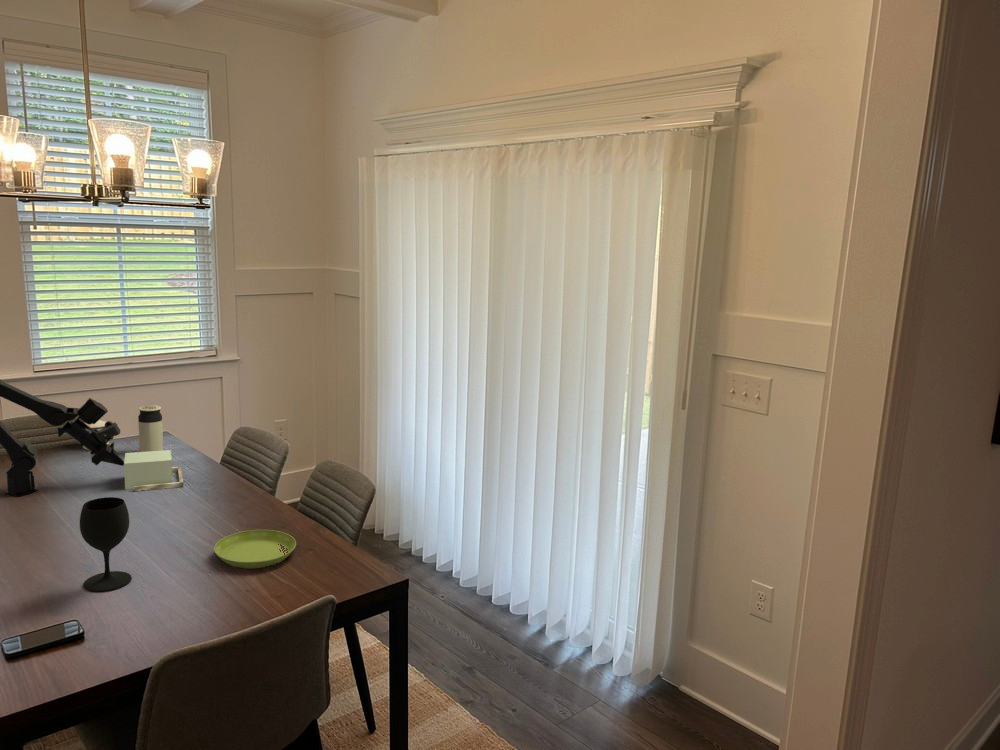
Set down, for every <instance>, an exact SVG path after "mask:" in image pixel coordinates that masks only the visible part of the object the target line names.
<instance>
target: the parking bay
mask: <svg viewBox="0 0 1000 750" xmlns="http://www.w3.org/2000/svg"><path fill="white" fill-rule="evenodd" d="M172 473H178V475H177V476H178V481H177V482H172V483H163V484H152V485H141V486H134V489H133V490H134V492H142V491H141V490H145V491H152V489H153V491H154V489H156V490H162V489H163V490H165V488H166V489H177V488H184V479H183V478H184V477H183V471H182V466H181V465H179V466H172Z"/></svg>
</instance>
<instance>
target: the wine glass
mask: <svg viewBox="0 0 1000 750" xmlns="http://www.w3.org/2000/svg"><path fill="white" fill-rule="evenodd" d="M129 528H130V514H129V510H128V507H127V504H126V502H125V500H124V499H123V498H120V497H116V496H115V497H114V496H113V497H112V496H109V497H105V496H104V497H99V498H94V499H91V500H88V501H86V502H84V503H83V505H82V508H81V510H80V516H79V531H80V534H81V537H82V539H83V540H84V541H85V542H86V544H87V545H89V546H90V547H91V548H94V549H95V550H97V551H100V552H102V554H103V560H104V561H103V562H104V572H100V573H97V574H94V575H92V576H90V577H87V579H85V581H84V583H82V584H83V588H84V589H85V590H86V591H88V592H91V593H107V592H112V591H115V590H119V589H122V588H124V587H126V586H128V585H129V584H131V582H132V578H133V577H132V575H131V574H130V573H128V572H125V571H121V570H120V571H119V570H112V571H111V570H110V553H111V551H112V550H113V549H115V548H116V546H117V547H118V545H119V544H120V543H121V542H122V541H123V540H124V539H125V537H126V536H127V533H128V532H129Z"/></svg>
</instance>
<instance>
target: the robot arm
mask: <svg viewBox="0 0 1000 750" xmlns="http://www.w3.org/2000/svg"><path fill="white" fill-rule="evenodd" d="M0 398H2V399H5V400H7V401H9V402H11V403H14V404H16V405H18V406H19V407H20V406H21V407H22V408H24V409H26V410H29V411H32V412H33V413H34V414H36V415H37V416H38V417H39V418H41V419H42V420H44V421H45V422H46V423H48V424H49V425H51V426H54V427H57V433H58V435H57V436H58V437H59V438H61V437H62V435H64V434H67V435H68V436H69V437H71V438H72V439H73V440H74V441H76V442H77V443H79V444H78V445H79V447H81V448H83V446H84V447H85V448H87V449H88V451H89V454H91V460H90V461H91V463H92V464H94V465H95V466H98V465H99V464H100V463H102V462H104V463H109V464H113V465H118V466H121V467H124V459H123V458H122V457H121V456H120V454H119V453H118V452H117V451H116V449H115V442H111V444H110V443H109V444H107V443H108V442H110V440H114V437H116V436H117V437H118V436H119V435H120V434H121V429H120V428H119V426H118V424H117V422H115V421H114V422H112V421H110V420H108V421H105V422H106V423H105V427H103V428H102V429H101V430H97V429H96V428H95V429H94V428H93V429H92V428H90V427H89V426H88V425H86V424H85V423H87V424H90V425H91V424H95V423H96V422H97V421H98V420H101V418H103V417H104V416H105V415H106V414H107V413H108V412H109V411H108V409H107V408H106V406H105V405H103V404H102V403H101V402H99V401H96V400H95V399H93V398H92V397H89V398H88V399H87V400H86V402H85V403H83V404H82V405H81V406H80V408H79V407H67V406H66V405H64V404H61V403H57V402H56V401H55V402H54V401H50V400H45V399H41V398H39V397H36V396H34V395H32V394H31V393H28V392H26V391H24V390H21V389H20V388H17V387H15V386H13V385H12V384H9V383H6V382H5V381H3V380H2V379H0ZM0 446H2V447H3V449H4V450H5V451H6V453H7V456H8V457H9V460H10V462H11V463H10V465H9V467H8V469H7V470H6V481H7V483H6V484H7V490H6V491H4V494H5V495H10V496H12V497H13V496H14V497H18V498H19V497H23V496H25V495H28V494H32V493H35V492H38V488H36V484H35V475H34V473H33V472H34V471H32V469H34V468H35V467H36V465H37V463H38V460H39V453H38V448H36V447H34V446H33V444H32V443H31V442H30V440H27V441H25V442H23V441H22V440H19V439H18V438H17V437H16V436H15V435H14V434H13V433H12V432H11V431H10V429H9V428H8V427H7V426H6V425H5V424H4V423H3V422H2V421H1V420H0ZM87 449H86V450H87Z"/></svg>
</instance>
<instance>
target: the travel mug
mask: <svg viewBox="0 0 1000 750" xmlns="http://www.w3.org/2000/svg"><path fill="white" fill-rule="evenodd" d="M161 409H162V407H161V406H160V405H154V404H153V405H151V404H150V405H149V404H148V405H142V406H140V407H138V410H139V414H138V416H137V419H138V421H137V422H138V423H137V424H138V441H139V442H138V443H139V452H148V451H163V450H164V438H163V437H164V435H163V434H164V432H163V415H162V413H161Z"/></svg>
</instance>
